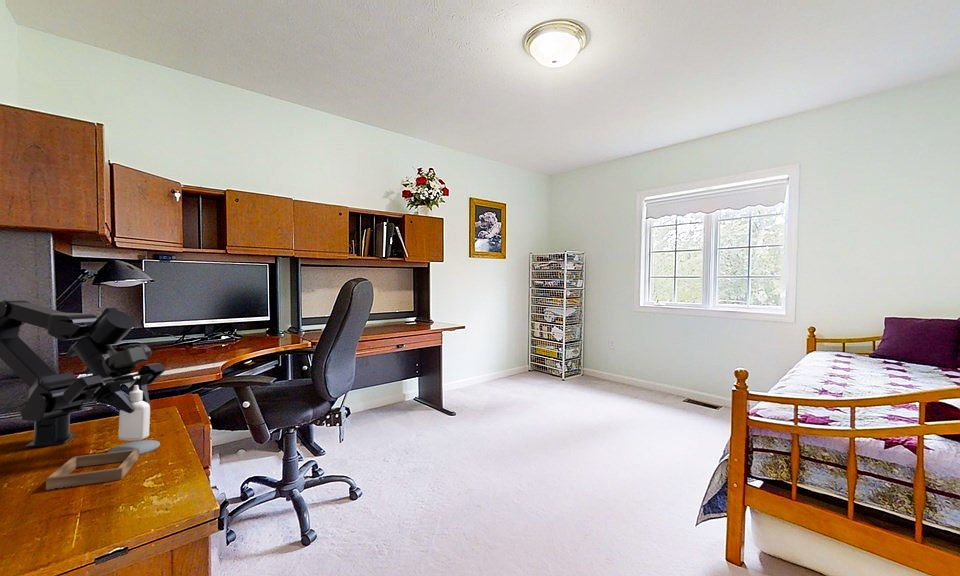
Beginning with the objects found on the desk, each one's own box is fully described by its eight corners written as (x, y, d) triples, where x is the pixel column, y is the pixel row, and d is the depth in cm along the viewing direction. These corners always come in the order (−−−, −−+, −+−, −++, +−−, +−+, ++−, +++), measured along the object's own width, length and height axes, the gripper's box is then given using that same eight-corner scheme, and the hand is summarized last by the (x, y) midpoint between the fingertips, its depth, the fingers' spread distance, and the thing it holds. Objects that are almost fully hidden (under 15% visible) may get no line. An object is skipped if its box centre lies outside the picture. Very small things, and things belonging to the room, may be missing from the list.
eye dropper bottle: (127, 444, 88) (129, 389, 88) (116, 438, 91) (118, 385, 91) (151, 438, 92) (153, 385, 92) (139, 433, 95) (142, 382, 95)
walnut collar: (73, 466, 82) (73, 456, 82) (138, 458, 87) (139, 448, 87) (45, 490, 73) (46, 479, 73) (121, 479, 77) (121, 468, 77)
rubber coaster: (116, 445, 93) (116, 443, 93) (164, 439, 97) (164, 438, 97) (100, 460, 85) (100, 458, 85) (153, 453, 89) (153, 451, 89)
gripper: (77, 339, 83) (121, 397, 81) (160, 330, 101) (198, 377, 100) (43, 375, 84) (86, 432, 82) (132, 359, 102) (168, 406, 101)
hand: (140, 409), depth 91 cm, fingers closed on eye dropper bottle, 3 cm apart
